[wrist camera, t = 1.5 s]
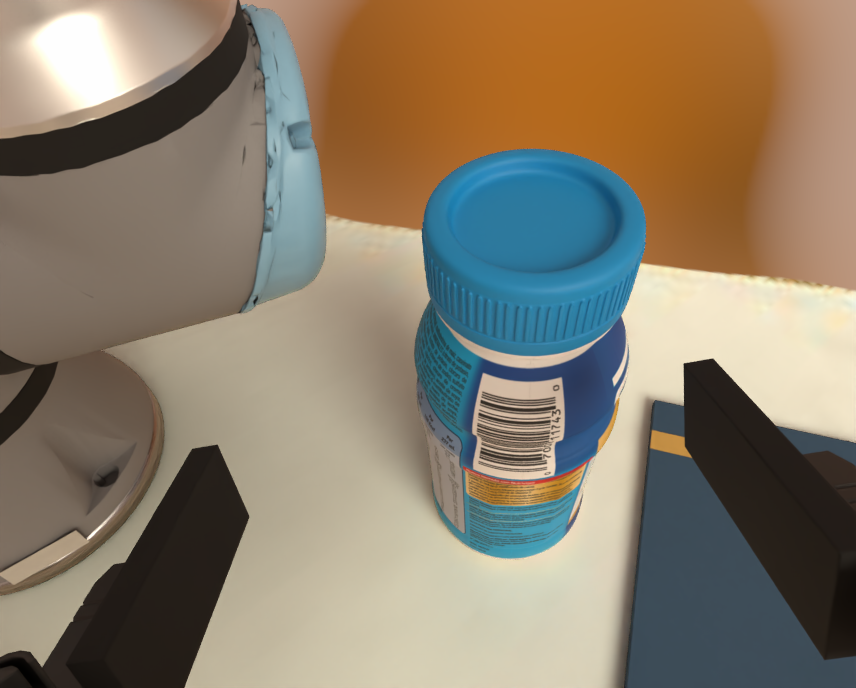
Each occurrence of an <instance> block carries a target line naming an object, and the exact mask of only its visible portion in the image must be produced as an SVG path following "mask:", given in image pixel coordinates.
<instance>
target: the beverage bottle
mask: <svg viewBox="0 0 856 688" xmlns="http://www.w3.org/2000/svg"><path fill="white" fill-rule="evenodd" d="M645 233H646V221H645V214H644V210H643V207H642V205H641V203H640V201H639V199H638V197H637V195H636V194H635V193H634V191H633V190H632V189H631V187H630V186H629V185H628V184H627V183H626V182H625V181H624V180H623V179H622V178H620V177H619V176H618V175H617V174H615V173H614V172H612V171H611V170H609V169H608V168H606V167H604V166H602V165H600V164H598V163H596V162H594V161H592V160H589V159H587V158H584V157H581V156H578V155H574V154H570V153H566V152H560V151H555V150H546V149H517V150H509V151H502V152H497V153H494V154H490V155H486V156H483V157H480V158H478V159H475V160H473V161H470V162H468V163H466V164H464V165H463V166H461V167H459V168H457V169H456V170H454V171H453V172H451V173H450V174H449V175H448V176H447V177H445V178H444V179H443V180H442V181H441V183H439V185H438V186H437V187H436V188H435V190H434V191H433V193H432V194H431V196H430V198H429V200H428V203H427V205H426V209H425V214H424V222H423V228H422V242H423V253H424V264H425V271H426V280H427V287H428V292H429V295H430V298H431V300H430V301H429V303H428V305H427V307H426V309H425V311H424V313H423V315H422V318H421V321H420V324H419V327H418V330H417V334H416V340H415V349H414V357H415V366H416V371H417V403H418V409H419V414H420V417H421V420H422V423H423V425H424V428H425V433H426V439H427V446H428V452H429V459H430V466H431V472H432V486H433V495H434V500H435V504H436V508H437V510H438V513H439V515H440V517H441V519H442V521H443V523H444V524H445V526H446V527H447V528H448V530H449V531H450V532H451V533H452V534H453V535H454V536H455V537H456V538H457V539H458V540H459V541H460V542H461V543H463V544H464V545H465V546H467V547H468V548H470V549H472V550H474V551H476V552H478V553H480V554H482V555H485V556H488V557H492V558H497V559H505V560H516V559H524V558H529V557H533V556H536V555H538V554H541V553H543V552H545V551H547V550H549V549H550V548H552V547H553V546H555V545H556V544H557V543H558V542H559V541H561V540H562V539H563V538H564V536H565V535H566V534H567V533H568V532H569V530H570V529H571V527H572V525H573V524H574V522H575V520H576V517H577V515H578V512H579V509H580V506H581V502H582V496H583V490H584V487H585V484H586V481H587V478H588V476H589V473H590V470H591V467H592V465H593V462H594V459H595V456H596V454H597V453H598V452H599V451H600V449H601V448H602V447H603V445H604V444H605V442H606V441H607V439H608V437H609V435H610V433H611V431H612V428H613V426H614V423H615V419H616V416H617V411H618V406H619V396H620V394H621V392H622V390H623V388H624V385H625V382H626V379H627V374H628V368H629V347H628V339H627V334H626V330H625V326H624V323H623V320H622V317H621V314H622V313H623V311H624V309H625V307H626V305H627V302H628V300H629V297H630V294H631V292H632V288H633V285H634V282H635V279H636V275H637V272H638V269H639V266H640V262H641V259H642V256H643V253H644V250H645V248H644V247H645V244H646V243H645V242H644V241H645V238H646V235H645Z"/></svg>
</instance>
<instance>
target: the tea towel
mask: <svg viewBox="0 0 856 688" xmlns="http://www.w3.org/2000/svg"><path fill="white" fill-rule="evenodd" d="M776 427H777V428H778V429H779V430H780V431H781V432H782V433H783V434H784V435H785V436H786V437H787V438H788V439H789V441H790V442H791V443H792V444H793V445H794V446H795V447H796V448H797V449H798V450H799V451H800V452H801V453H802V454H809V453H815V452H821V451H830V452H832V453H834V454H836V455H838V456H839V457H841V458H843V459H845V460H847V461H849V462H851V463H853V464H854V465H855V466H856V443H853V442H849V441H844V440H839V439H835V438H830V437H825V436H821V435H816V434H811V433H807V432H802V431H797V430H793V429H788V428H783V427H779V426H776ZM624 688H856V656H853V657H845V658H837V659H830V660H824V659H823V657H822V656H821V654H820V653H819V651H818V650H817V648H816V647H815V645H814V644H813V642H812V641H811V639H810V637H809V636H808V634H807V633H806V631H805V630H804V628H803V627H802V625H801V624H800V622H799V621H798V619H797V618H796V616H795V615H794V613H793V611H792V610H791V608H790V607H789V605H788V604H787V602H786V601H785V599H784V598H783V596H782V595H781V593H780V592H779V590H778V588H777V587H776V585H775V584H774V582H773V581H772V579H771V578H770V576H769V575H768V573H767V572H766V570H765V569H764V567H763V566H762V564H761V562H760V561H759V559H758V558H757V556H756V555H755V553H754V552H753V550H752V549H751V547H750V546H749V544H748V543H747V541H746V540H745V538H744V536H743V535H742V533H741V532H740V530H739V529H738V527H737V526H736V524H735V523H734V521H733V520H732V518H731V517H730V515H729V513H728V512H727V510H726V509H725V507H724V506H723V504H722V503H721V501H720V500H719V498H718V497H717V495H716V494H715V492H714V491H713V489H712V487H711V486H710V484H709V483H708V481H707V480H706V478H705V477H704V475H703V474H702V472H701V471H700V469H699V468H698V466H697V465H696V463H695V461H694V460H693V458H692V457H691V455H690V454H689V452H688V451H687V449H686V448H685V436H684V406H680V405H676V404H671V403H666V402H662V401H657V400H655V401H654V403H653V406H652V416H651V426H650V436H649V446H648V456H647V466H646V475H645V485H644V495H643V505H642V515H641V525H640V535H639V545H638V555H637V565H636V575H635V585H634V595H633V605H632V615H631V625H630V635H629V645H628V655H627V665H626V675H625V685H624Z"/></svg>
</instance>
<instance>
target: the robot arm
mask: <svg viewBox="0 0 856 688" xmlns="http://www.w3.org/2000/svg"><path fill="white" fill-rule="evenodd" d="M311 134H312V128H311V122H310V116H309V105H308V99H307V95H306V90H305V86H304V82H303V78H302V74H301V70H300V67H299V63H298V59H297V56H296V53H295V50H294V46H293V43H292V41H291V38H290V36H289V34H288V31H287V29H286V27H285V24H284V23H283V21H282V19H281V18H280V17H279V16H278V15H277V14H276V13H275V12H274V11H272V10H270V9H266V8H256V7H255V6H254V5H250V6H248V7H247V4H245V5H240V2H239V0H0V595H6V594H10V593H14V592H18V591H21V590H24V589H27V588H30V587H33V586H36V585H38V584H40V583H43V582H45V581H47V580H49V579H51V578H53V577H55V576H57V575H59V574H61V573H63V572H65V571H66V570H68V569H70V568H71V567H73V566H74V565H76V564H78V563H79V562H80V561H82V560H83V559H85V558H86V557H87V556H89V555H90V554H92V553H93V552H94V551H95V550H96V549H98V548H99V547H100V546H101V545H103V544H104V543H105V542H106V541H107V540H108V539H109V538H110V537H111V536H112V535H113V534H114V533H115V532H116V531H117V530H118V529H119V528H120V527H121V526H122V525H123V524H124V522H125V521H126V520H127V519H128V518H129V516H130V515H131V514H132V513H133V511H134V510H135V509H136V507H137V506H138V504H139V503H140V501H141V500H142V498H143V497H144V495H145V493H146V491H147V490H148V488H149V486H150V484H151V482H152V480H153V478H154V476H155V473H156V470H157V468H158V465H159V462H160V458H161V454H162V449H163V443H164V421H163V416H162V412H161V409H160V406H159V404H158V402H157V400H156V398H155V396H154V395H153V393H152V392H151V390H150V389H149V388H148V387H147V385H146V384H145V383H144V381H143V380H142V379H141V378H140V377H139V376H138V375H137V374H136V372H134V371H133V370H132V369H131V368H129V367H128V366H127V365H126V364H124V363H123V362H122V361H120V360H119V359H117V358H115V357H113V356H111V355H109V354H107V353H105V352H103V351H101V350H102V349H106V348H109V347H113V346H117V345H121V344H124V343H128V342H132V341H135V340H139V339H143V338H147V337H150V336H154V335H158V334H162V333H165V332H169V331H173V330H177V329H180V328H184V327H188V326H192V325H195V324H199V323H203V322H206V321H210V320H214V319H218V318H221V317H225V316H229V315H233V314H236V313H240V314H242V313H246V312H249V311H250V310H252V309H253V308H254V307H255V306H256V305H258V304H261V303H264V302H267V301H269V300H272V299H275V298H278V297H281V296H284V295H286V294H289V293H292V292H295V291H298V290H300V289H302V288H304V287H305V286H307V285H308V284H310V283H311V282H312V281H313V280H314V279H315V278H316V276H317V275H318V273H319V271H320V269H321V267H322V265H323V262H324V258H325V252H326V216H325V205H324V194H323V187H322V179H321V171H320V165H319V160H318V154H317V149H316V146H315V144H314V141H313V140H312V137H311ZM684 436H685V448H686V449H687V451H688V452H689V454H690V455H691V457H692V458H693V460H694V461H695V463H696V465H697V466H698V468H699V469H700V471H701V472H702V474H703V475H704V477H705V478H706V480H707V481H708V483H709V484H710V486H711V487H712V489H713V491H714V492H715V494H716V495H717V497H718V498H719V500H720V501H721V503H722V504H723V506H724V507H725V509H726V510H727V512H728V513H729V515H730V517H731V518H732V520H733V521H734V523H735V524H736V526H737V527H738V529H739V530H740V532H741V533H742V535H743V536H744V538H745V540H746V541H747V543H748V544H749V546H750V547H751V549H752V550H753V552H754V553H755V555H756V556H757V558H758V559H759V561H760V562H761V564H762V566H763V567H764V569H765V570H766V572H767V573H768V575H769V576H770V578H771V579H772V581H773V582H774V584H775V585H776V587H777V588H778V590H779V592H780V593H781V595H782V596H783V598H784V599H785V601H786V602H787V604H788V605H789V607H790V608H791V610H792V611H793V613H794V615H795V616H796V618H797V619H798V621H799V622H800V624H801V625H802V627H803V628H804V630H805V631H806V633H807V634H808V636H809V637H810V639H811V641H812V642H813V644H814V645H815V647H816V648H817V650H818V651H819V653H820V654H821V656H822V657H823V659H824V660H830V659H837V658H845V657H853V656H856V466H855V465H854V464H853V463H851V462H849V461H847V460H845V459H843V458H841V457H839V456H838V455H836V454H834V453H832V452H830V451H821V452H815V453H809V454H802V453H801V452H800V451H799V450H798V449H797V448H796V447H795V446H794V445H793V444H792V443H791V442H790V441H789V439H788V438H787V437H786V436H785V435H784V434H783V433H782V432H781V431H780V430H779V429H778V428H777V427H776V426H775V424H774V423H773V422H772V421H771V420H770V419H769V418H768V417H767V416H766V415H765V414H764V413H763V412H762V411H761V409H760V408H759V407H758V406H757V405H756V404H755V403H754V402H753V401H752V400H751V399H750V398H749V397H748V396H747V394H746V393H745V392H744V391H743V390H742V389H741V388H740V387H739V386H738V385H737V384H736V383H735V382H734V381H733V379H732V378H731V377H730V376H729V375H728V374H727V373H726V372H725V371H724V370H723V369H722V368H721V367H720V366H719V364H718V363H717V362H716V361H715V360H714V359H707V360H701V361H696V362H690V363H684ZM248 519H249V515H248V512H247V510H246V508H245V505H244V503H243V501H242V499H241V496H240V494H239V492H238V490H237V487H236V485H235V483H234V481H233V478H232V476H231V474H230V472H229V469H228V467H227V465H226V463H225V460H224V458H223V456H222V454H221V451H220V449H219V447H218V445H212V446H206V447H201V448H195V449H192V450H191V452H190V454H189V455H188V457H187V459H186V460H185V462H184V464H183V465H182V467H181V469H180V471H179V472H178V474H177V476H176V477H175V479H174V481H173V482H172V484H171V486H170V487H169V489H168V491H167V493H166V494H165V496H164V498H163V499H162V501H161V503H160V504H159V506H158V508H157V509H156V511H155V513H154V515H153V516H152V518H151V520H150V521H149V523H148V525H147V526H146V528H145V530H144V532H143V533H142V535H141V537H140V538H139V540H138V542H137V543H136V545H135V547H134V548H133V550H132V552H131V554H130V555H129V557H128V559H127V560H126V562H125V563H120V564H114V565H113V566H112V567H111V568H110V569H109V570H108V571H107V572H106V573H105V574H104V575H103V576H102V577H101V578H100V579H98V580H97V581H96V582H95V584H94V586H93V587H92V589H91V590H90V592H89V594H88V595H87V597H86V598H85V600H84V602H83V606H80V608H79V610H78V611H77V613H76V614H75V616H74V618H73V619H74V620H73V622H70V624H69V626H68V627H67V629H66V630H65V632H64V634H63V635H62V637H61V638H60V640H59V642H58V643H57V645H56V646H55V648H54V650H53V651H52V653H51V654H50V656H49V658H48V659H47V661H46V662H45V664H44V666H43V667H41V665H40V664H39V663H38V662H37V660H36V659H35V658H34V656H33V655H32V654H31V652H27V651H16V652H12V653H8V654H6V655H4V656H2V657H0V688H184V687H185V684H186V682H187V679H188V676H189V674H190V671H191V669H192V666H193V663H194V661H195V658H196V656H197V653H198V650H199V648H200V645H201V642H202V640H203V637H204V635H205V632H206V629H207V627H208V624H209V621H210V619H211V616H212V614H213V611H214V608H215V606H216V603H217V600H218V598H219V595H220V593H221V590H222V587H223V585H224V582H225V579H226V577H227V574H228V572H229V569H230V566H231V564H232V561H233V558H234V556H235V553H236V551H237V548H238V545H239V543H240V540H241V538H242V535H243V532H244V530H245V527H246V524H247V522H248Z"/></svg>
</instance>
